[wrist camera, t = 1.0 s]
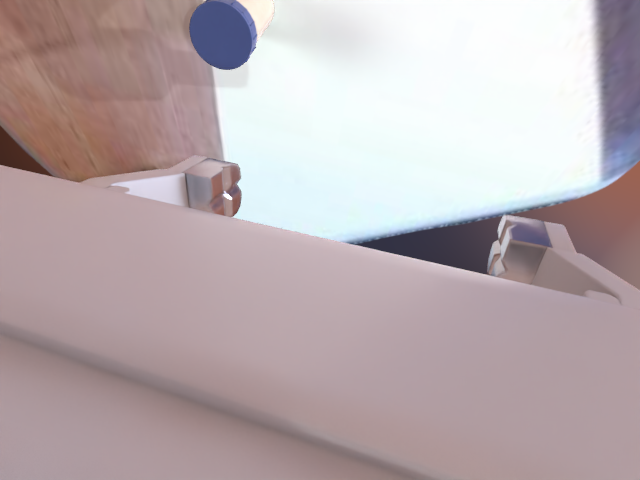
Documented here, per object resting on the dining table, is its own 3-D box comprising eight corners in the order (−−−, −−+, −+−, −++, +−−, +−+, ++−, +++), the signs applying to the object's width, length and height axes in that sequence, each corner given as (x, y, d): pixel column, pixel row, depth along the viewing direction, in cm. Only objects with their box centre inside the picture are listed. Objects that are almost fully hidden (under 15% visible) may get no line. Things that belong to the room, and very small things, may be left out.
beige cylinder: (224, 24, 47) (192, 55, 39) (229, -29, 43) (195, -6, 36) (269, 38, 47) (246, 72, 40) (278, -13, 44) (254, 13, 36)
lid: (194, 52, 40) (187, 59, 39) (197, -14, 36) (190, -9, 35) (252, 70, 41) (247, 78, 40) (261, 7, 37) (256, 13, 35)
